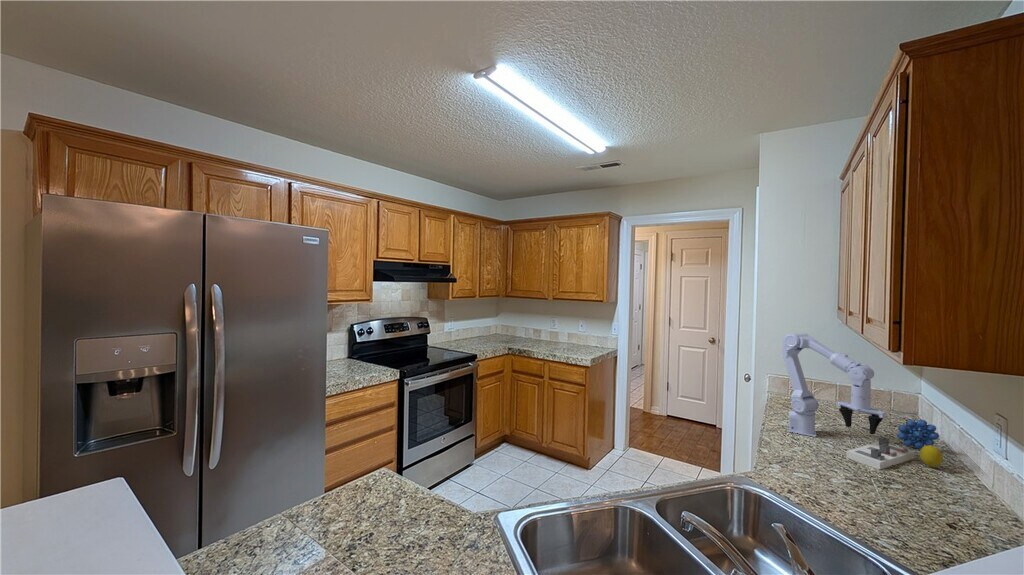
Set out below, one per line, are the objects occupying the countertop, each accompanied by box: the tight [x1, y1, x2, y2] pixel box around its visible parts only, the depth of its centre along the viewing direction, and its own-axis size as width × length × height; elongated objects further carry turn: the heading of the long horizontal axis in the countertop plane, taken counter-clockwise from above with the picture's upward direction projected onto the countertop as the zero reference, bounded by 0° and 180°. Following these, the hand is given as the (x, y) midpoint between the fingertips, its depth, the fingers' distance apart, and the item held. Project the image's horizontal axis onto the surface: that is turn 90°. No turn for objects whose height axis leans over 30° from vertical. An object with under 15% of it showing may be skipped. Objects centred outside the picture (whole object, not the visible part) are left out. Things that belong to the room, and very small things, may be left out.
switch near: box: [871, 449, 881, 459], centre depth 137 cm, size 2×2×3 cm
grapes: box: [896, 419, 940, 450], centre depth 151 cm, size 12×7×12 cm, turn 50°
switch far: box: [878, 436, 890, 446], centre depth 148 cm, size 2×2×3 cm
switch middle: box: [879, 444, 890, 454], centre depth 141 cm, size 2×2×3 cm
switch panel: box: [846, 441, 915, 470], centre depth 143 cm, size 23×10×4 cm, turn 112°
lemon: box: [919, 445, 944, 468], centre depth 135 cm, size 6×6×8 cm
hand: (860, 430), depth 148 cm, fingers open, 7 cm apart
